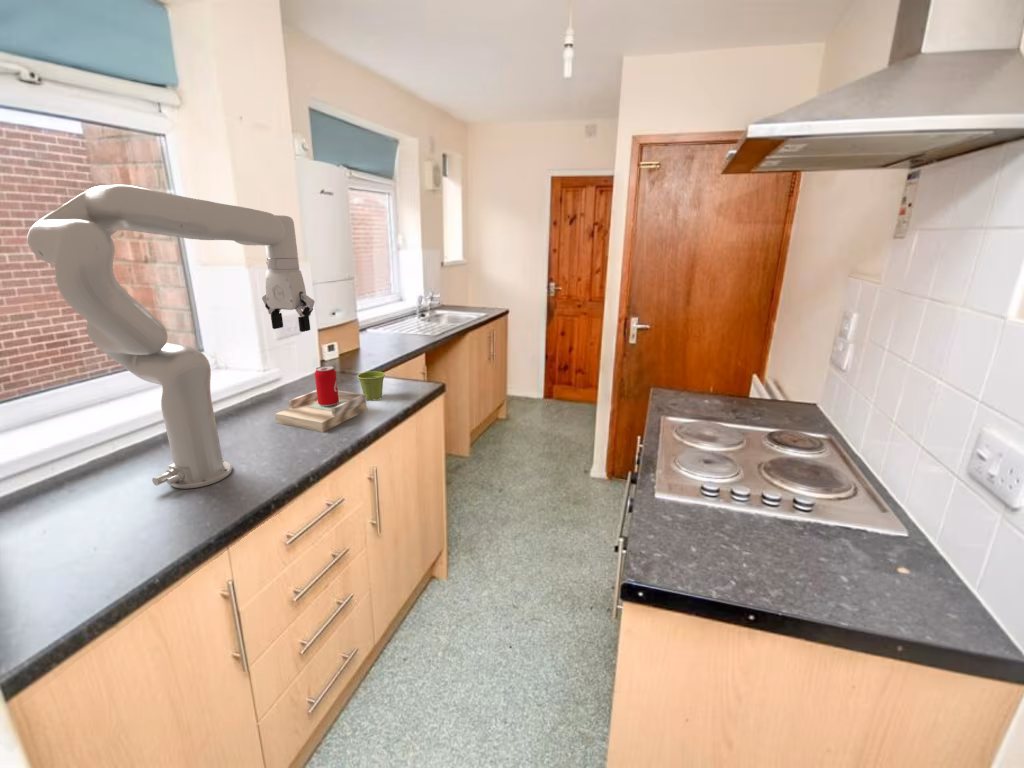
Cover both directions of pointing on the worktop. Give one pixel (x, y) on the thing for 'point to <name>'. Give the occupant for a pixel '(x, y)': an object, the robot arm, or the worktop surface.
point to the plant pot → (372, 384)
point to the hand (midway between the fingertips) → (291, 329)
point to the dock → (321, 411)
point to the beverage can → (326, 386)
